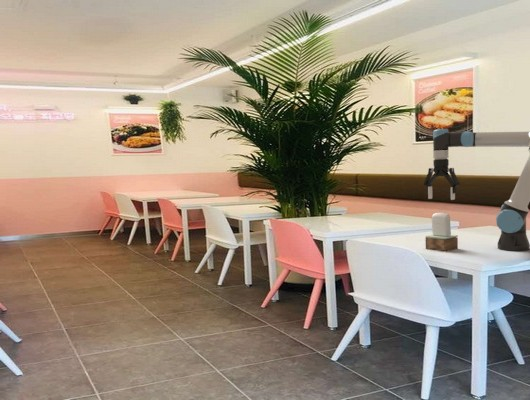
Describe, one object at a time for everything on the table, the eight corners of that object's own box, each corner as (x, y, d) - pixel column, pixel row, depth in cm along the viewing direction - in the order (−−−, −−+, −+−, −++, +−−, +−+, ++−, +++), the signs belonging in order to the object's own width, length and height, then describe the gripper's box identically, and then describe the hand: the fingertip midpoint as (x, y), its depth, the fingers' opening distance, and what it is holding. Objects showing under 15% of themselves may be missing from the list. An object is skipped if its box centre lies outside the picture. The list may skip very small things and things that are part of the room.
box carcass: (457, 248, 268) (457, 237, 267) (445, 251, 261) (445, 240, 261) (438, 246, 277) (437, 235, 277) (425, 248, 271) (425, 237, 270)
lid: (457, 236, 267) (457, 235, 267) (445, 239, 261) (445, 237, 261) (437, 235, 277) (437, 233, 277) (425, 237, 270) (425, 236, 270)
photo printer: (431, 235, 272) (430, 212, 272) (436, 234, 274) (436, 211, 274) (446, 237, 263) (445, 213, 263) (452, 236, 265) (451, 212, 265)
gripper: (466, 158, 258) (467, 199, 259) (425, 159, 278) (425, 197, 279) (458, 158, 253) (458, 200, 255) (416, 159, 273) (417, 198, 275)
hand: (441, 199), depth 267 cm, fingers open, 13 cm apart
